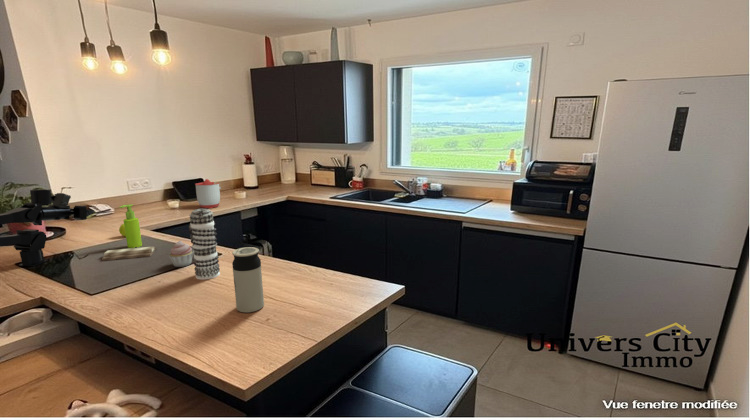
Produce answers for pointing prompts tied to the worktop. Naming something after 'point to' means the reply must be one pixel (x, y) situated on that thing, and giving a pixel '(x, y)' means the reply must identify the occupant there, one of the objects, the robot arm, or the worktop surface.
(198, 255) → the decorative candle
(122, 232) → the ornament
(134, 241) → the soap dispenser
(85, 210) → the robot arm
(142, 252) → the bar
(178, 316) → the worktop surface
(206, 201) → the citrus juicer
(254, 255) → the travel mug
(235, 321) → the worktop surface
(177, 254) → the cupcake
